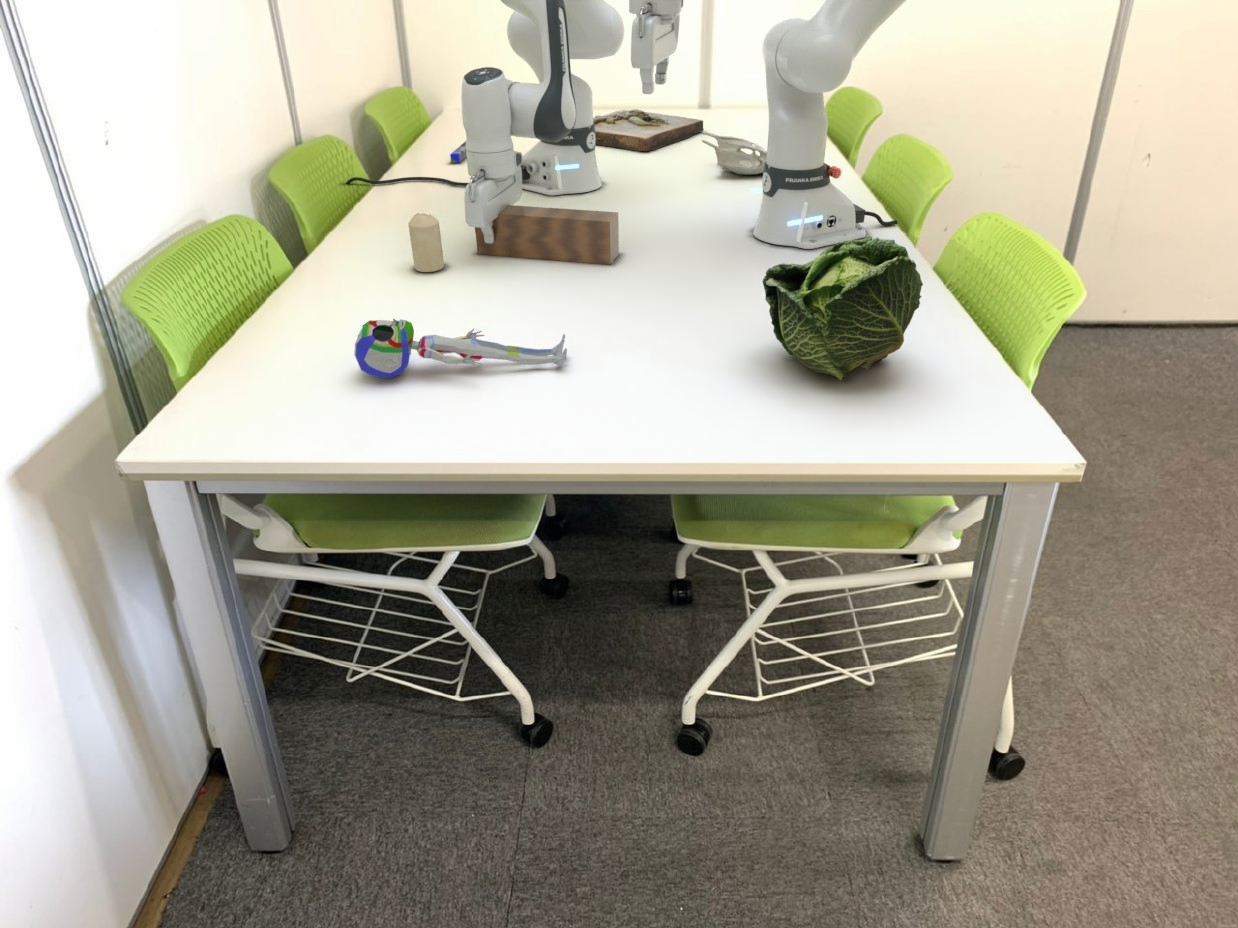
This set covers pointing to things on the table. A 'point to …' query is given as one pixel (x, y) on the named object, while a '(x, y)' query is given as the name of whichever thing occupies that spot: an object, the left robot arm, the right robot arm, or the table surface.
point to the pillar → (459, 154)
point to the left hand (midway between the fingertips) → (497, 236)
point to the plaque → (643, 129)
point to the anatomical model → (738, 155)
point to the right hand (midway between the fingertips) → (654, 88)
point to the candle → (426, 243)
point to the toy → (435, 349)
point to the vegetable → (844, 304)
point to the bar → (553, 234)
